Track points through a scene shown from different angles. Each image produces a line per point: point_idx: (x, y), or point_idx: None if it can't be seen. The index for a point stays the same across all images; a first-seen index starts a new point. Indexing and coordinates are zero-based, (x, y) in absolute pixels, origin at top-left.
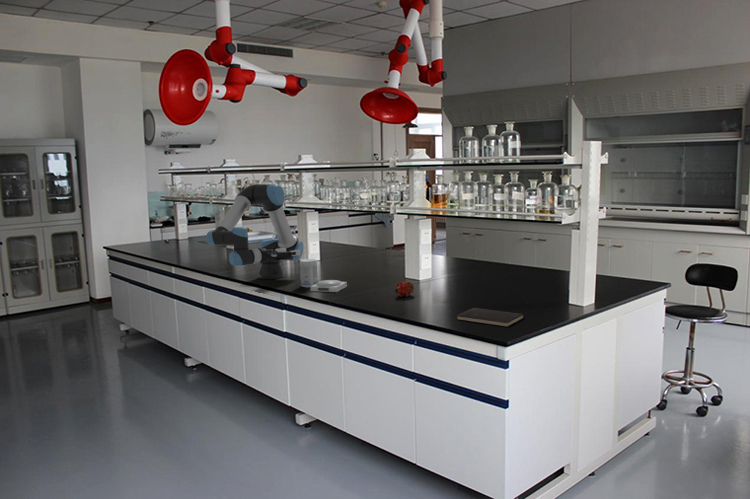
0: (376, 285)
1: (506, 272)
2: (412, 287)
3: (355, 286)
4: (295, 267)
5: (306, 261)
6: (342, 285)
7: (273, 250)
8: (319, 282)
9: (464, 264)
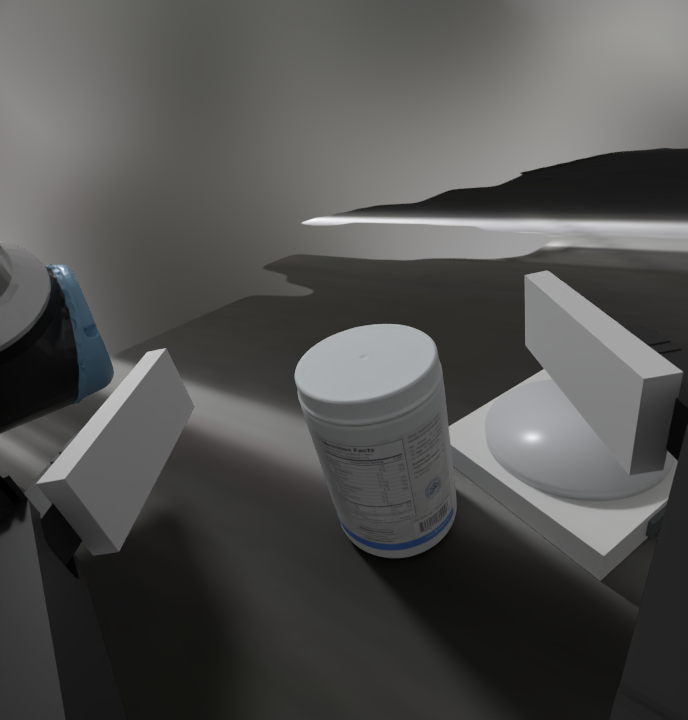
0: None
1: (571, 179)
2: None
3: None
4: None
5: (416, 375)
6: None
7: (45, 562)
8: (541, 465)
9: (427, 205)
